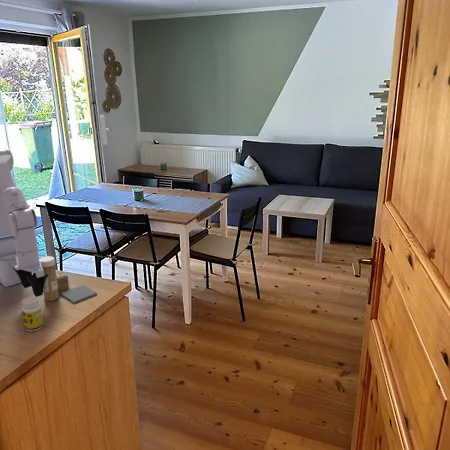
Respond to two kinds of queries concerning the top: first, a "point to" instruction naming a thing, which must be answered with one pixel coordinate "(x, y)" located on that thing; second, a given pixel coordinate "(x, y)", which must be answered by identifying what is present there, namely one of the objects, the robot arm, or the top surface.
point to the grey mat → (78, 293)
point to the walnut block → (62, 281)
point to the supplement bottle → (32, 314)
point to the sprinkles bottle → (50, 278)
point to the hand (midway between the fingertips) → (33, 291)
